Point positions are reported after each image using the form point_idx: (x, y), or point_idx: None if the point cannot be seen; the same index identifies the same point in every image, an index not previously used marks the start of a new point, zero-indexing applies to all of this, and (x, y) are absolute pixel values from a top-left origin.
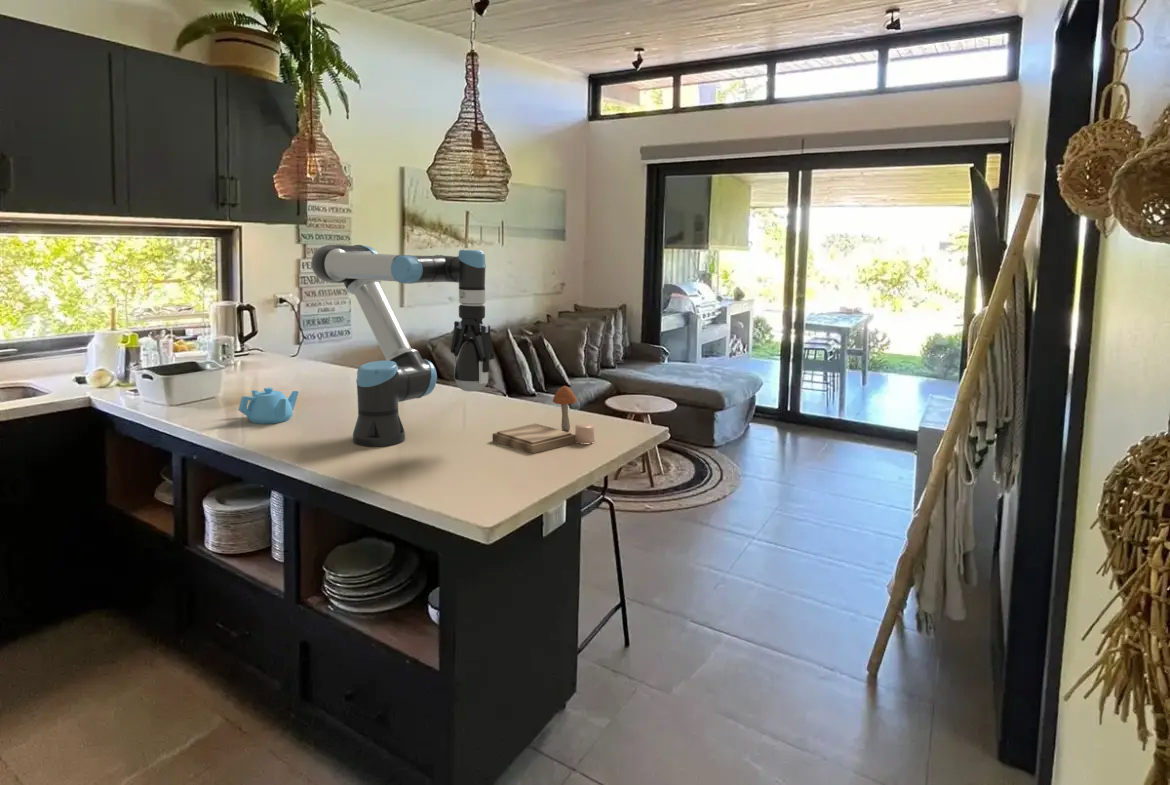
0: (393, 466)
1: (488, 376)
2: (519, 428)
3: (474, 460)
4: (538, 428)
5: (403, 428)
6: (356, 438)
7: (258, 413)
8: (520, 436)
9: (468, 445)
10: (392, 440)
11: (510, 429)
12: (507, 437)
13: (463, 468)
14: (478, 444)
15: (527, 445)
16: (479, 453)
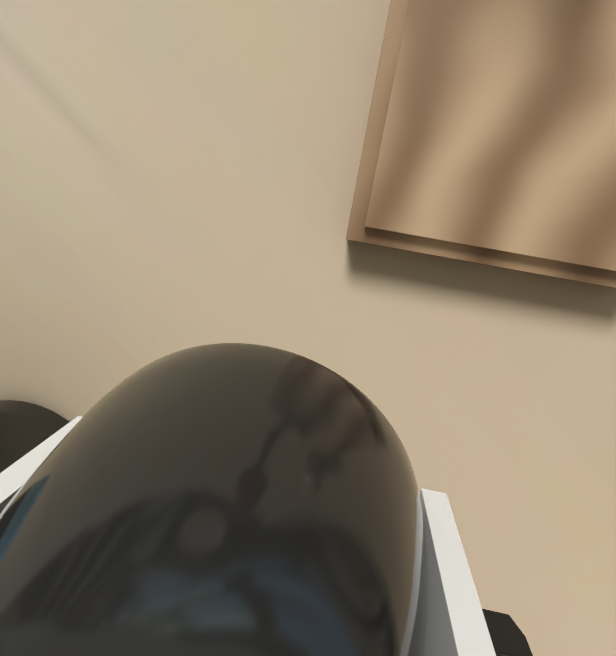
0: None
1: (409, 465)
2: (417, 92)
3: (463, 482)
4: (508, 11)
5: (41, 442)
6: None
7: None
8: (517, 224)
9: (312, 349)
10: None
11: (392, 145)
12: (450, 251)
13: (489, 564)
14: (333, 314)
15: (598, 284)
16: (421, 407)
